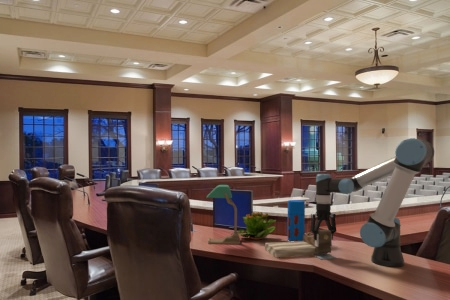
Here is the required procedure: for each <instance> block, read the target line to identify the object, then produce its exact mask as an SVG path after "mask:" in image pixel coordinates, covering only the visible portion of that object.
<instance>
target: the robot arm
mask: <svg viewBox="0 0 450 300" xmlns="http://www.w3.org/2000/svg"><path fill="white" fill-rule="evenodd" d="M394 155H395V156H393V157H391V158H389V159H387V160H385V161H383V162H381V163H378V164H377V165H374V166H372V167H370V168H368V169H365V170H364V171H362V172H360V173H358V174H356V175H353V176H351V177H346V178H339V177H338V178H333V177H331V176H332V175H331V174H330V173H329V174H328V173H317V174H316V177H315V187H316V188H315V191H316V192H315V193H316V194H315V202H316V203H315V213H311V214H310V217H311V219H310V220H311V221H310V229H309V233H311V234H312V235H314V240H315V246H317V247H319V234H317V233H318V230H320V227H321V225H322V222H323V221H324V222H325V224H326V227H327V230H330V231H331V247H332V246H333V244H332V241H333V239H334V234H335V233H337V223H336V217H337V216H336V215H337V214H336V213H334V212H333V213H331V211H332V210H331V207H332V206H331V201H332V199H331V198H332V197H331V194H332V193H337V194H343V195H346V194H349V195H350V194H352V193H356V192H359V191H360V190H361V189H363V188H366V187H367V186H370V185H372V184H374V183H377V182H379V181H381V180H384V179H386V178H388V177H390V179H389V181H388V183H387V185H386V187H385V189H384V191H383V194H382V195H381V198H380V201H379V202H378V205H377V208H376V210H375V212H373V213H370V214H369V217H368V219H367V221H366V222H365V223H363V224H362V225H361V227H360V230H359V234H360V238H361V241H362V242H363V243H364V244H365V245H367V246H369V247H370V248H373V249H372V250H373V251H372V253H371V254H372V255H371V256H370V257H371V258H370V259H371V262H372V263H373V264H376V265H379V266H384V267H393V268H395V267H397V268H398V267H403V266H405V258H404V255H403V252H402V250H401V225H402V224H401V220H400V218H397V217H396V216H397V214H398V213H399V210H400V207H401V206H402V203H403V201H404V199H405V197H406V194H407V193H408V190H409V188H410V186H411V184H412V182H413V179H414V178H415V176H416V175H417V174H420V173H421V171H422V170H423V167H424V165H426V164H427V163H430V162H431V161H432V160H433V158H434V156H435V148H434V146H433V145H432V143H430V142H429V141H428V140H426V139H420V138H414V137H413V138H406V139H403V140H402V141H400V142H399V143H398V144H397V146H396V148H395V153H394Z"/></svg>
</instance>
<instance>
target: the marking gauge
mask: <svg viewBox="0 0 450 300" xmlns="http://www.w3.org/2000/svg"><path fill="white" fill-rule="evenodd" d="M310 233H311V232H307V234H306V233H305V235H303V241H305V242H307V243H309V244H311V245H313V246H315V240H314V234H313V233H311V234H310ZM317 234H319V247H317V246H315V251H316V252H317V253H328V254H330V253H332V246H331V231H330V230H328V228H326V229H319V230H318V233H317Z"/></svg>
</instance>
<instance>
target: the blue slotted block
mask: <svg viewBox="0 0 450 300" xmlns="http://www.w3.org/2000/svg"><path fill="white" fill-rule="evenodd" d="M305 204H306V203H305V200H301V199H300V200H299V199H290V200H289V199H288V201H287V241H288V240H289V241H288V242H291V241H303V235H306V233H305V230H306V227H305V224H306V222H305V221H306V215H305V214H306V213H305V212H306V210H305V209H306V205H305Z"/></svg>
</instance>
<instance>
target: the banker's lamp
mask: <svg viewBox="0 0 450 300" xmlns="http://www.w3.org/2000/svg"><path fill="white" fill-rule="evenodd" d="M232 198H233V194H232V190H231V188H230V186H229V185H228V184H218V185H217V186H216V187H214V188H213V189H212V190H211V191H210V192H209V193H208V194H207V196H206V199H226V202H227V204H229V205H231V206H232V207H233V209H234V210H233V211H234V219H233V220H234V221H233V222H234V226H233V227H234V231H233V232H232V233H231V235H226V236H225V237H223V238H211V237H209V238H208V240H207V241H208V244H209V245H241V237H240V235H239V234H238V232H237V231H238V208H237V206H236V204H235V203H234V201H233V200H232Z"/></svg>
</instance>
